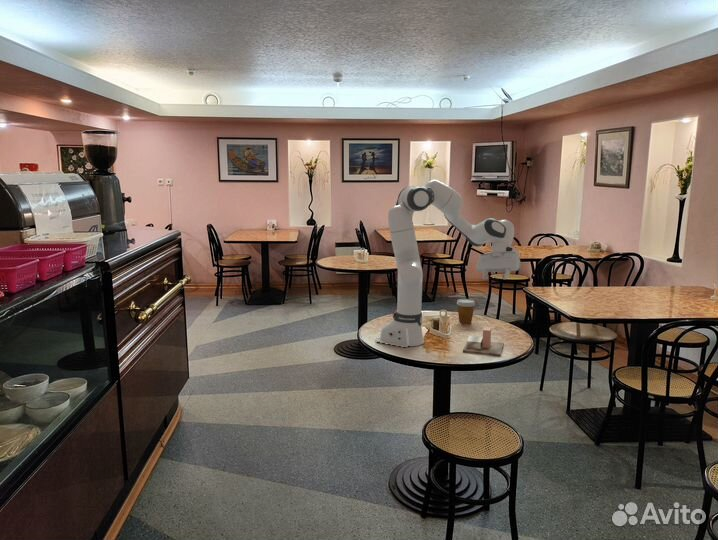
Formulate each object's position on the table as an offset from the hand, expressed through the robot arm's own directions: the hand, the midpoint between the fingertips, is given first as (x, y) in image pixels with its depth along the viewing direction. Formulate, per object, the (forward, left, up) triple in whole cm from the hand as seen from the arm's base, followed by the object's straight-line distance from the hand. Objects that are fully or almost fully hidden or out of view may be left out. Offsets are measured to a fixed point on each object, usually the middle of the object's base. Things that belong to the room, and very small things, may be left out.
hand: (494, 279), depth 233 cm
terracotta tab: (-1, -10, -29) cm, 31 cm away
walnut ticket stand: (-2, -10, -30) cm, 32 cm away
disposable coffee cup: (-16, +28, -30) cm, 44 cm away
